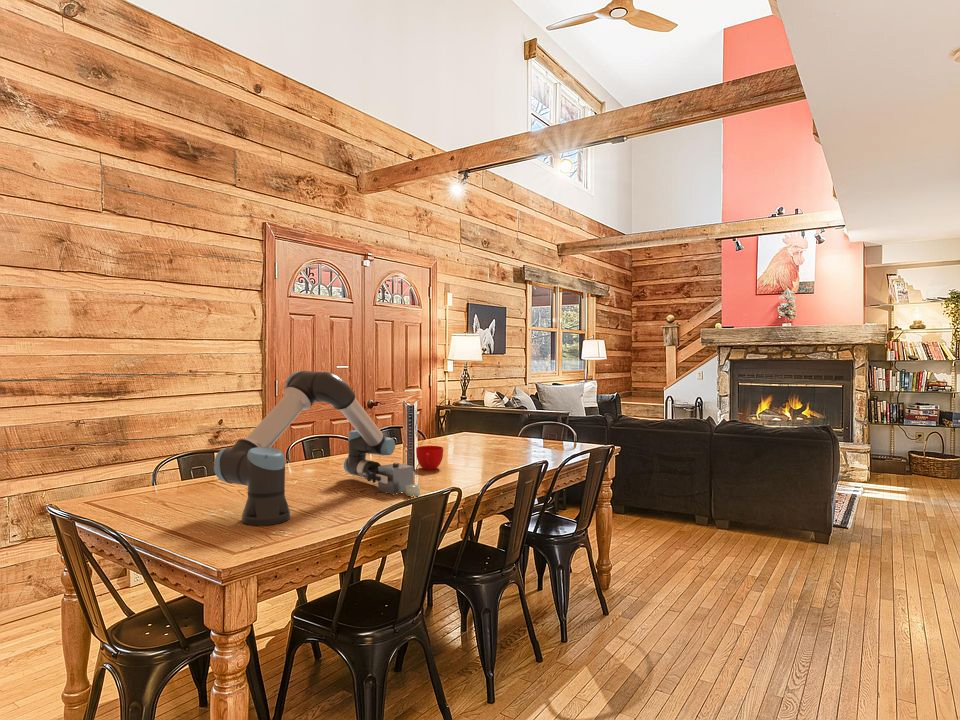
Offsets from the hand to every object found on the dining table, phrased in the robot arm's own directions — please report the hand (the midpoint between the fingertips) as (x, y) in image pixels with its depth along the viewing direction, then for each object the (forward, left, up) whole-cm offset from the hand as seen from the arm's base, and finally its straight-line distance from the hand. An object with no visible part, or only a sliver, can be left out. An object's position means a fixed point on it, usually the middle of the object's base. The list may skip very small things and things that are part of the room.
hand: (400, 477), depth 241 cm
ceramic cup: (+40, -26, -6) cm, 48 cm away
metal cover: (+3, +1, -6) cm, 7 cm away
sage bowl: (-7, -3, -6) cm, 10 cm away
